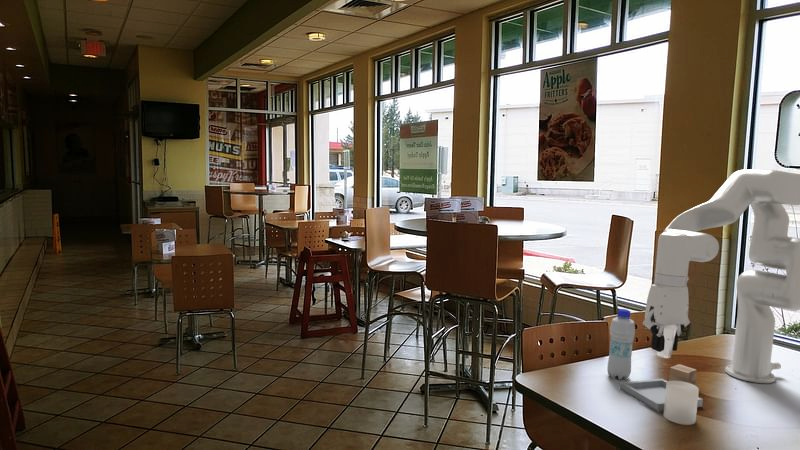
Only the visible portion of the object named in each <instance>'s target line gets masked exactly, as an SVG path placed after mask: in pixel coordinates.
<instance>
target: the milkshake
mask: <svg viewBox="0 0 800 450" xmlns="http://www.w3.org/2000/svg"><path fill="white" fill-rule="evenodd" d="M676 331H677V326H676V325H674V324H672V325H664V328H663V331H662V335H661V336H662V337H663V346H662V351H661V352H658V351H656V356H658V357H659V358H662V359H671V357H672V352H673V350H672V348H673V343H674V339H675V335H676Z"/></svg>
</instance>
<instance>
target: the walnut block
mask: <svg viewBox="0 0 800 450" xmlns="http://www.w3.org/2000/svg"><path fill="white" fill-rule="evenodd" d="M697 371H698V369H696V368H693V367H689V366H686V365H684V364H681V363H680V364H679V363H678V364H675V365H673V366H670V367H669V375H668V381H682V382H687V383H690V384H693V385H695V386H696V378H697Z"/></svg>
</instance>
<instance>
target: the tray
mask: <svg viewBox="0 0 800 450" xmlns="http://www.w3.org/2000/svg"><path fill="white" fill-rule="evenodd" d="M668 381H669V380H668ZM668 381H667V380H665V379H664V378H654V379H653V378H652V379H644V380H643V379H642V380H631V381H622V382H619V391H621V392H623V393H624V394H626V395H628V396H629V397H631V398H633V399H635V400H637V402H640V403H641V404H644V405H645V406H647V407H648V408H650V409H652V410H653V411H656V413H658V412H664V403H665V393H666V383H667V382H668ZM703 402H704V400H703V398H701V397H699V396H698V403H697V408H702V407H703Z"/></svg>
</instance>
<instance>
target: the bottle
mask: <svg viewBox="0 0 800 450" xmlns="http://www.w3.org/2000/svg"><path fill="white" fill-rule="evenodd" d="M635 328H636V327H635V321H634V320H633V319H631V311H630V310H629V309H626V308H619V309H618V310H617V315H616V317H614V318H612V319H611V324H610V327H609V335H610V339H609V340H610V341H609V351H608V353H609V355H608V362H607V368H606V369H607V375H608V376H609V377H611V378H612V379H616V376H617V378H618V380H619V381H620V380H622V379H623V380H626V381H627V379H629V377H630V375H631V373H632V355H633V342H634V339H635V334H636V329H635Z"/></svg>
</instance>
